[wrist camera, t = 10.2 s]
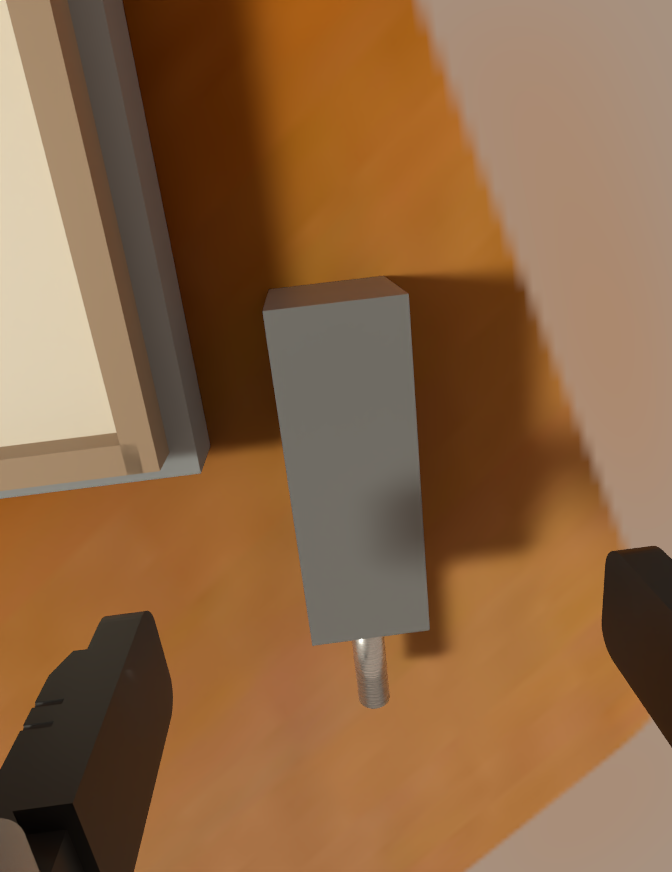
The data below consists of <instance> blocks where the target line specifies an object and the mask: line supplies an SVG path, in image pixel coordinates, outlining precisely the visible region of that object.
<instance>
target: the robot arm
mask: <svg viewBox="0 0 672 872" xmlns="http://www.w3.org/2000/svg"><path fill="white" fill-rule="evenodd" d="M602 632H603V637H604V641H605V644H606V647H607V650H608V652H609V654H610V656H611V658H612V660H613V661H614V663H615V664H616V666H617V667H618V669H619V670H620V672H621V673H622V675H623V676H624V678H625V679H626V681H627V682H628V684H629V685H630V687H631V688H632V689H633V691H634V692H635V694H636V695H637V697H638V698H639V700H640V701H641V703H642V704H643V706H644V707H645V709H646V710H647V712H648V713H649V714H650V716H651V717H652V719H653V720H654V722H655V723H656V725H657V726H658V728H659V729H660V731H661V732H662V734H663V735H664V736H665V738H666V740H667V741H668V742H669V744H670V745H671V747H672V559H671V558H670V557H669V556H668V555H667V554H666V553H665V552H664V551H663V550H661V549H660V548H659V547H657V546H648V547H641V548H633V549H626V550H618V551H611V552H610V553H609V554H608V556H607V558H606V563H605V578H604V593H603V609H602ZM172 706H173V691H172V683H171V678H170V674H169V670H168V667H167V663H166V660H165V656H164V652H163V649H162V645H161V642H160V638H159V635H158V631H157V627H156V624H155V621H154V618H153V616H152V614H151V613H150V612H149V611H143V612H135V613H128V614H120V615H112V616H105V617H104V618H102V620H101V621H100V623H99V625H98V627H97V629H96V631H95V634H94V636H93V638H92V640H91V642H90V644H89V647H88V649H86V650H78V651H73V652H72V653H71V654H70V655H69V656H68V657H67V658H66V659H65V660H64V661H63V662H62V663H61V664H60V665H59V666H58V667H57V668H56V669H55V670H54V671H53V672H52V673H51V674H50V675H49V677H48V678H47V680H46V682H45V684H44V686H43V688H42V690H41V692H40V694H39V696H38V698H37V700H36V702H35V708H32V709H31V711H30V713H29V715H28V717H27V719H26V721H25V723H24V725H23V726H24V729H23V731H20V732H19V734H18V736H17V738H16V740H15V742H14V744H13V746H12V748H11V750H10V752H9V754H8V756H7V758H6V760H5V761H4V763H3V765H2V767H1V769H0V872H134V869H135V864H136V860H137V856H138V852H139V848H140V844H141V840H142V836H143V831H144V827H145V823H146V819H147V815H148V811H149V807H150V803H151V798H152V794H153V790H154V786H155V782H156V778H157V774H158V769H159V765H160V761H161V757H162V753H163V749H164V745H165V741H166V736H167V732H168V728H169V724H170V720H171V715H172Z"/></svg>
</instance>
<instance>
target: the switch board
mask: <svg viewBox="0 0 672 872" xmlns="http://www.w3.org/2000/svg"><path fill="white" fill-rule="evenodd" d="M209 449H210V441H209V436H208V431H207V426H206V421H205V416H204V411H203V406H202V401H201V396H200V391H199V386H198V381H197V375H196V370H195V365H194V360H193V355H192V350H191V345H190V340H189V335H188V330H187V325H186V320H185V315H184V310H183V305H182V300H181V295H180V290H179V285H178V280H177V275H176V269H175V264H174V259H173V254H172V249H171V244H170V239H169V234H168V229H167V224H166V219H165V214H164V209H163V204H162V199H161V194H160V189H159V184H158V179H157V174H156V168H155V163H154V158H153V153H152V148H151V143H150V138H149V133H148V128H147V123H146V118H145V113H144V108H143V103H142V98H141V93H140V88H139V83H138V78H137V73H136V67H135V62H134V57H133V52H132V47H131V42H130V37H129V32H128V27H127V22H126V17H125V12H124V7H123V2H122V0H0V499H1V498H9V497H16V496H24V495H32V494H40V493H48V492H56V491H64V490H72V489H80V488H88V487H96V486H104V485H112V484H120V483H128V482H136V481H144V480H152V479H160V478H167V477H175V476H183V475H191V474H199V473H201V471H202V469H203V466H204V463H205V460H206V457H207V454H208V451H209Z"/></svg>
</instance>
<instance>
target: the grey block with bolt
mask: <svg viewBox="0 0 672 872" xmlns="http://www.w3.org/2000/svg"><path fill="white" fill-rule="evenodd" d="M262 312H263V319H264V325H265V332H266V339H267V345H268V352H269V359H270V365H271V372H272V379H273V385H274V392H275V399H276V405H277V412H278V419H279V426H280V432H281V439H282V446H283V452H284V459H285V466H286V472H287V479H288V486H289V492H290V499H291V506H292V512H293V519H294V526H295V532H296V539H297V546H298V552H299V559H300V566H301V572H302V579H303V586H304V593H305V599H306V606H307V613H308V619H309V626H310V633H311V639H312V646H314V645H322V644H329V643H337V642H344V641H352V644H353V653H354V661H355V669H356V678H357V686H358V694H359V700H360V702H361V704H362V705H363V706H365V707H367V708H372V709H375V708H380V707H382V706H384V705H385V704H386V703H387V702H388V701H389V698H390V694H389V684H388V674H387V663H386V653H385V642H384V636H389V635H397V634H404V633H412V632H419V631H427V630H430V626H429V610H428V594H427V578H426V562H425V546H424V530H423V514H422V498H421V482H420V466H419V450H418V434H417V418H416V402H415V386H414V370H413V354H412V338H411V322H410V306H409V294H408V293H407V292H405V291H404V290H403V289H401V288H400V287H399V286H397V285H396V284H394V283H393V282H392V281H390V280H389V279H388V278H386V277H385V276H378V277H369V278H361V279H352V280H344V281H335V282H327V283H318V284H310V285H301V286H293V287H284V288H276V289H269V291H268V294H267V297H266V301H265V304H264V307H263V311H262Z"/></svg>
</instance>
